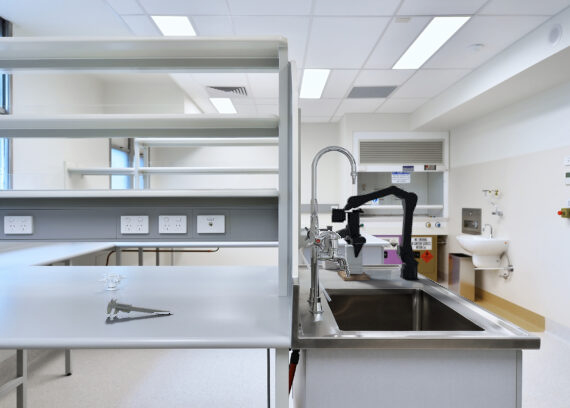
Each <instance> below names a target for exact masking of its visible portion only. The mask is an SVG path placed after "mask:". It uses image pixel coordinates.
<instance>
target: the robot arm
mask: <svg viewBox="0 0 570 408" xmlns="http://www.w3.org/2000/svg"><path fill="white" fill-rule="evenodd" d="M391 195H392V196H394V197H396V198H397V199H400V200H401V206H402V210H403V213H402V216H403V218H402V229H401V241H400V244H396V252H395V254H396V255H397V258H398V259H399V260H400V261H401V263H402V264H401V267H400V275H399V277H400V278H402V279H403V280H405V281H413V280H414V281H415V280H416V281H417V280H418V281H419V280H420V278H419V277H418V274H419V273H418V272H419V271H418V270H419V269H418V266H419V261H417V259H416V258H415V256H414V251H413V250H414V248H413V245H412V239H413V238H412V236H413V223H414V212H415V210H416V207H417V205H418V201H419V198H418V195H417V194H416V193H415V192H413V191H412V192H411V191H406V190H405V189H402V188H400V187H398V186H396V185H394V184H393V185H389V186H387V187H384V188H381V189H378V190H374V191H371V192H369V193H365V194H357V195H350V196H349V197H348V198H347V200H346V203H345V205H344V206H343V208H335V207H334V208H331V223H332V224H333V223H335V224H336V223H337V224H338V223H339V224H341V223H343V224H344V222H345V221H346V222H347V224H346V225H345V227H344V228H341V229H338V230H336V231H335V232H336V233H338V234H339V235H340V236H341V239H343V241H345V243H346V245H352V246H353V249H354V255H355V258H357V257H358V255H359V253H360V251H361V249H362V250H363V247H364V245H365V244H367V238H366V237H365V236H363V235H362V234H361V232H360V231H361V228H362V225H361V222H360V221H361V214H365V210H364V211H363V210H362V208H361V207H362V206H363V205H365V204H367V203H369V202H371V201H376V200H379V199H382V198H385V197H387V196H391ZM357 208H358V209H357ZM341 239H340V240H341Z"/></svg>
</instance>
